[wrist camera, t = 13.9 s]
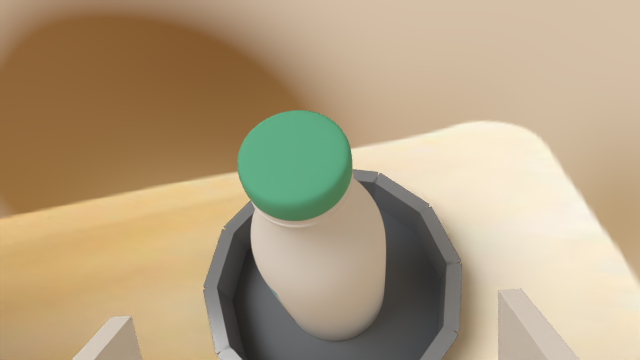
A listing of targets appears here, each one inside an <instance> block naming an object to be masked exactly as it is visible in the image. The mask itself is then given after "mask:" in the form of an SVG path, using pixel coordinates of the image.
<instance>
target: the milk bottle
mask: <svg viewBox="0 0 640 360" xmlns="http://www.w3.org/2000/svg"><path fill="white" fill-rule="evenodd" d="M238 174H239V178H240V181H241V183H242V186H243V188H244V190H245V192H246V194H247V195H248V197H249V198H250V200H251V202H252V204H253V206H254V207H255V211H254V214H253V218H252V224H251V247H252V252H253V256H254V259H255V262H256V265H257V267H258V270H259V271H260V273H261V275H262V277H263V278H264V280H265V282H266V283H267V285H268V287H269V288H270V289H271V291H272V292H273V294H274V295H275V296H276V298H277V299H278V300H279V302H280V303H281V304H282V306H283V307H284V308H285V310H286V311H287V312H288V313H289V315H290V316H291V317H292V318H293V320H294V321H295V322H296V323H297V324H298V325H299V326H300V327H301V328H302V329H303V330H304V331H305V332H307V333H308V334H310V335H312V336H314V337H316V338H319V339H322V340H327V341H342V340H347V339H350V338H353V337H355V336H357V335H359V334H361V333H362V332H364V331H365V330H366V329H367V328H368V327H369V326H370V325H371V324H372V323H373V322H374V320H375V319H376V317H377V316H378V314H379V312H380V309H381V306H382V303H383V297H384V288H385V270H386V239H385V229H384V224H383V221H382V217H381V214H380V211H379V209H378V207H377V205H376V203H375V201H374V200H373V198H372V196H371V195H370V194H369V193H368V191H367V190H366V189H365V188H364V187H363V186H362V185H361V184H360V183H359V182H358V181H357V180H355V179H354V178H353V169H352V155H351V149H350V146H349V142H348V140H347V138H346V136H345V134H344V133H343V131H342V130H341V128H340V127H339V126H338V125H337V124H336V123H335V122H334V121H332V120H331V119H329V118H328V117H326V116H324V115H321V114H319V113H316V112H311V111H304V110H296V111H287V112H282V113H279V114H276V115H273V116H271V117H269V118H267V119H265V120H264V121H262V122H261V123H259V124H258V125H257V126H256V127H254V128H253V129H252V130H251V132H250V133H249V134H248V135H247V136H246V138H245V139H244V141H243V143H242V145H241V147H240V150H239V154H238Z"/></svg>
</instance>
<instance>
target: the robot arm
mask: <svg viewBox="0 0 640 360" xmlns="http://www.w3.org/2000/svg"><path fill="white" fill-rule="evenodd" d="M498 359H499V360H579V358H578V357H577V356H576V355H575V354H574V352H573V351H572V350H571V349H570V347H569V346H568V345H567V344H566V343H565V341H564V340H563V339H562V338H561V336H560V335H559V334H558V333H557V332H556V330H555V329H554V328H553V327H552V326H551V324H550V323H549V322H548V321H547V319H546V318H545V317H544V316H543V315H542V313H541V312H540V311H539V310H538V308H537V307H536V306H535V305H534V304H533V302H532V301H531V300H530V299H529V297H528V296H527V295H526V294H525V293H524V291H523V290H522V289H509V290H498ZM72 360H142V357H141V353H140V349H139V345H138V341H137V336H136V332H135V328H134V324H133V320H132V316H118V317H111V318H110V319H109V320H108V321H107V322H106V323H105V324H104V325H103V327H102V328H101V329H100V330H99V331H98V332H97V333H96V334H95V335H94V336H93V337H92V338H91V340H90V341H89V342H88V343H87V344H86V345H85V346H84V347H83V348H82V349H81V350H80V351H79V353H78V354H77V355H76V356H75V357H74V358H73V359H72Z"/></svg>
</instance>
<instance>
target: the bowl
mask: <svg viewBox="0 0 640 360" xmlns="http://www.w3.org/2000/svg"><path fill="white" fill-rule="evenodd" d="M353 178H354V179H355V180H357V181H358V182H359V183H360V184H361V185H362V186H363V187H364V188H365V189H366V190H367V191H368V193H369V194H370V195H371V196H372V198H373V200H374V201H375V203H376V205H377V207H378V209H379V211H380V214H381V217H382V221H383V224H384V229H385V239H386V270H385V288H384V297H383V303H382V306H381V309H380V312H379V314H378V316H377V317H376V319H375V320H374V322H373V323H372V324H371V325H370V326H369V327H368V328H367V329H366V330H365V331H364V332H362V333H361V334H359V335H357V336H355V337H353V338H350V339H347V340H342V341H327V340H322V339H319V338H316V337H314V336H312V335H310V334H308V333H307V332H305V331H304V330H303V329H302V328H301V327H300V326H299V325H298V324H297V323H296V322H295V321H294V320H293V318H292V317H291V316H290V315H289V313H288V312H287V311H286V310H285V308H284V307H283V306H282V304H281V303H280V302H279V300H278V299H277V298H276V296H275V295H274V294H273V292H272V291H271V289H270V288H269V287H268V285H267V283H266V282H265V280H264V278H263V277H262V275H261V273H260V271H259V270H258V267H257V265H256V262H255V259H254V256H253V252H252V247H251V224H252V218H253V214H254V211H255V207H254V206H253V204H252V202H251V200H250V201H249V202H248V203H247V204H246V205H245V206H244V207H243V208H242V209H241V210H240V211H239V212H238V213H237V214H236V215H235V216H234V217H233V218H232V219H231V220H230V221H229V222H228V223H227V224H226V225H225V226H224V228H225V229H226V230H224V229H222V232H221V235H220V238H219V241H218V244H217V247H216V250H215V253H214V256H213V259H212V262H211V265H210V268H209V271H208V274H207V277H206V280H205V283H204V286H203V287H204V288H205V289H204V290H203V292H204V297H205V302H206V307H207V313H208V318H209V323H210V328H211V333H212V338H213V343H214V349H215V354H218V356H217V357H218V358H219V359H220V360H441V359H442V358H443V356H444V355H445V353H446V352H447V350H448V349H449V347H450V346H451V345H452V343H453V342H454V340H455V339H456V337H457V336H458V332H459V325H460V298H461V270H462V264H460V262H461V260H460V258H459V256H458V255H457V253H456V251H455V249H454V247H453V245H452V243H451V242H450V240H449V238H448V236H447V234H446V232H445V231H444V229H443V227H442V225H441V223H440V221H439V220H438V218H437V216H436V214H435V212H434V210H433V209H432V207H429V204H428V203H426V202H425V201H423V200H422V199H420V198H419V197H417V196H416V195H414V194H413V193H411V192H409V191H408V190H406V189H405V188H403V187H402V186H400V185H399V184H397V183H395V182H394V181H392V180H391V179H389V178H388V177H386V176H385V175H383V174H382V173H380V174H379V175H378V172H373V171H364V170H355V169H353Z"/></svg>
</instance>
